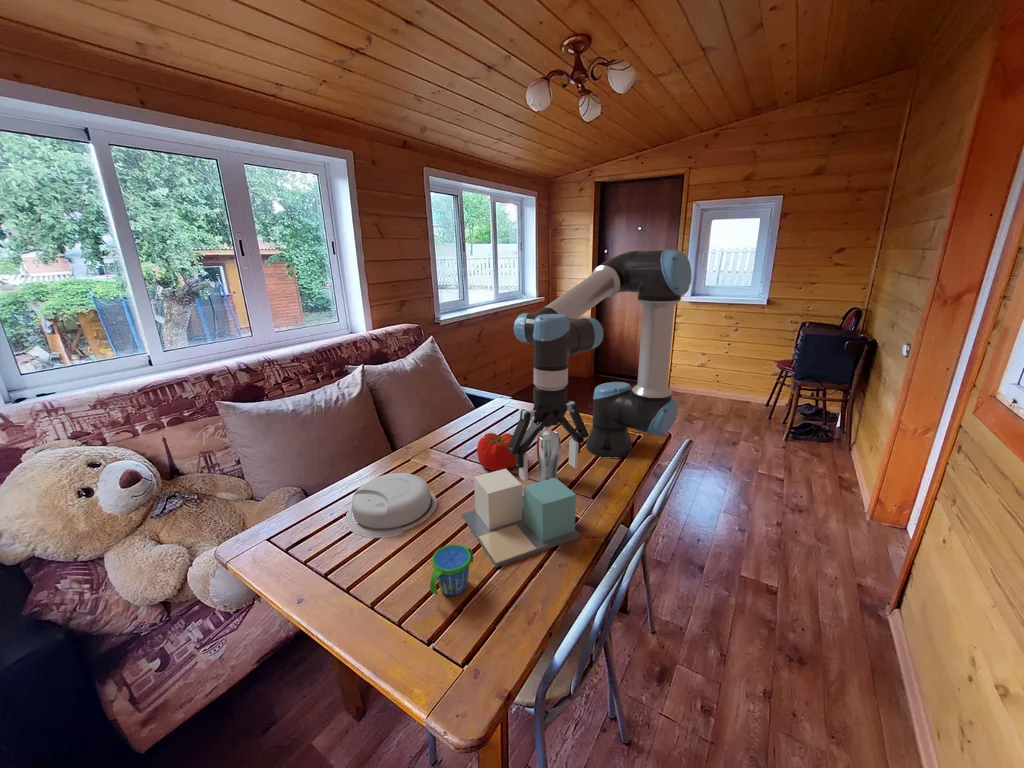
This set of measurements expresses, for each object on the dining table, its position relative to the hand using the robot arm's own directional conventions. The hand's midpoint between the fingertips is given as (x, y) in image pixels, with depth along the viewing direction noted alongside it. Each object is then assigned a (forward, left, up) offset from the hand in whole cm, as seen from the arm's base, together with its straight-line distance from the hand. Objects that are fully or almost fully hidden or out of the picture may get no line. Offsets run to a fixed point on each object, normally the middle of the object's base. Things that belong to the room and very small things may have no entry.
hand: (548, 472), depth 100 cm
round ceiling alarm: (+32, -28, -17) cm, 46 cm away
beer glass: (-12, -20, -16) cm, 28 cm away
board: (+6, -5, -16) cm, 17 cm away
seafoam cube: (0, 0, -15) cm, 15 cm away
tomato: (-3, -35, -16) cm, 39 cm away
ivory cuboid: (+9, -10, -15) cm, 20 cm away
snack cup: (+27, +7, -16) cm, 32 cm away
